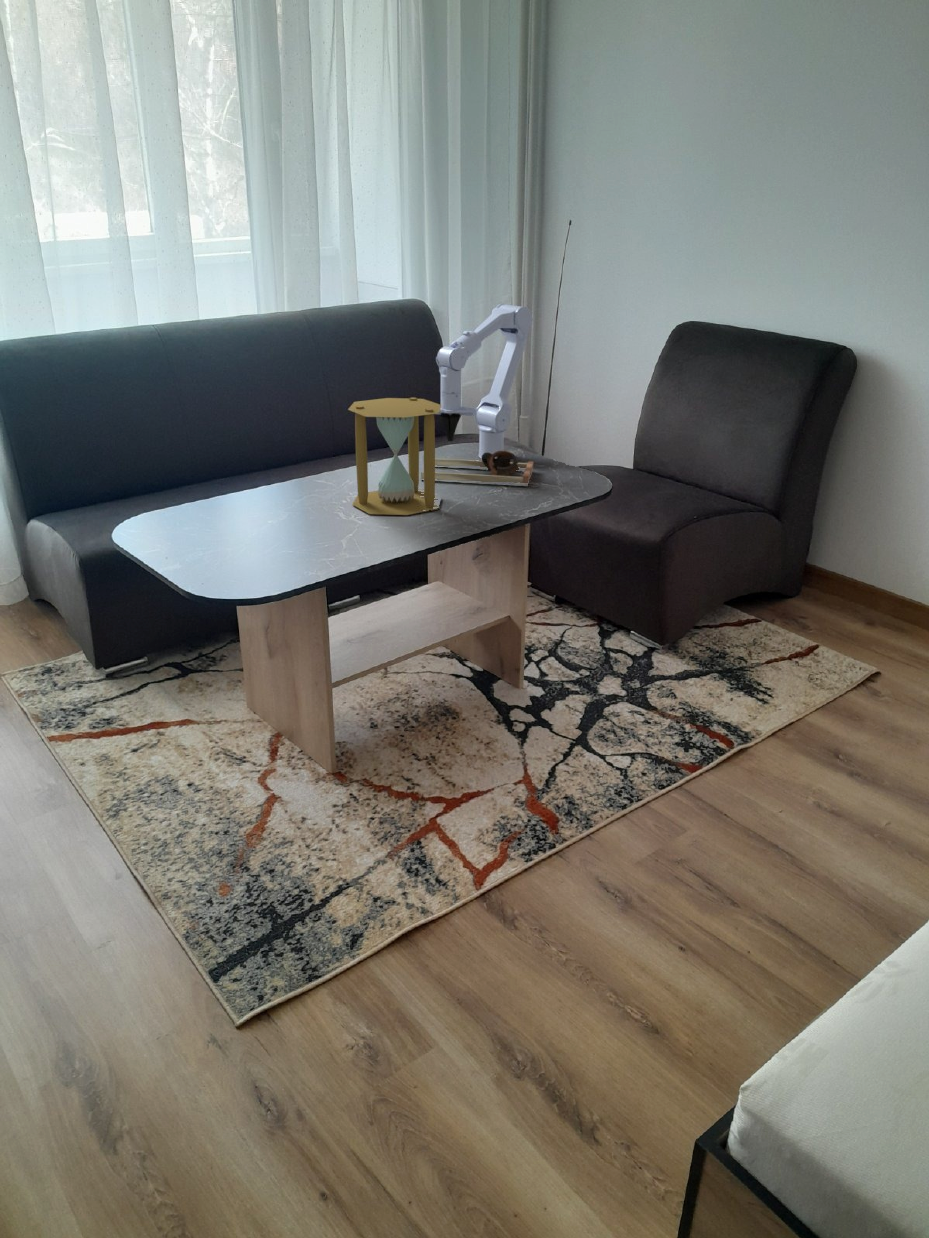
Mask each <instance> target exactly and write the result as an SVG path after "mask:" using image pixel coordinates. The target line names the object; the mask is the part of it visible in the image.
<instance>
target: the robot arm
mask: <svg viewBox="0 0 929 1238" xmlns="http://www.w3.org/2000/svg"><path fill="white" fill-rule="evenodd" d="M533 321H534V320H533V315H532V314H531V310H530V309H529V308H528V306H522V305H521V306H519V305H512V304H511V305H510V304H506V303H499V304H498V305H497V306H496V307H494V308H493V309H492V311H491V314H490V315H489V316H488V317H487V318H485V320H484V321H483V322H482V323H481V324H480V325H479V326H478V327H476V328H475V330H474V331H473V330H464V331H463V332H462V335H461V336H459V337H458V338H457V339H456V340H454V341H452V342H450V343H451V344H449V346H447V345H446V346H445V345H444V346H442V347H440V349H439V350H438V351H437V355H436V357H435V362H436V365H437V366H438V372H439V374H440V405H442V406H441V409H440V411H439V413H436V414H435V415H440V417H439V418H440V421H441V423H442V426H443V428H444V429H445V431H444V432H445V434H446V437H447V442H453V441H454V439H455V434H456V430H457V427H458V424H459V423H460V422H459V421H460V419H461V417H462V416H465V417H466V416H467V417H468V416H469V417H473V418H474V422H475V424H476V425H477V428H478V429H479V440H478V441H479V444H478V446H479V447H478V456H479V457H480V458H481V459H482V455H483V454H484V453H486V452H487V453H491V454H493V453H495V452H497V451H505V450H504V445H505V442H504V441H505V431H507V428H508V427H509V425H510V423H511V413H512V410H513V407H512V405H511V404H510V402H509V401H508V398H509V395H510V393H511V390H512V387H513V384H514V382H515V378H516V375H517V372H518V369H519V366H520V363H521V359H522V357H523V353H524V351H525V348H526V345H527V341H528V336H529V332H530V330H531V326H532V325H533V324H532V323H533ZM498 330H499V331H500V332H501V334H502V336H504V338H505V340H506V344H505V347H504V350H503V352H502V355H501V359H500V361H499V364H498V367H497V370H496V373H495V377H494V379H493V382H492V386H491V388H490V391H489V393H488V394H486V395H485V396H484V397H482V398H481V399H480V403H479V405H478V406H477V407H468V406H462V369H464V368H465V366H466V364H467V362H468V359H469V358H470V357H471V356H472V355H474V354H475V353H477V351H479V350H480V349H481V346H482V342H483V341H484V340H485V339H487V338H488V337H489V336H491V335H492V334H494V333H496V332H497V331H498ZM496 458H497V457H495V459H496Z"/></svg>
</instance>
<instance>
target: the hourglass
mask: <svg viewBox="0 0 929 1238" xmlns="http://www.w3.org/2000/svg"><path fill="white" fill-rule="evenodd" d="M441 406H442V405H441V403H440V404H439V403H437V402H434V401H431V400H428V399H425V398H417V397H409V398H403V397H402V398H399V397H385V398H377V399H376V398H375V399H368V400H360V401H359V400H357V401H353V403H352V404H351V405H350V407H349V408H347V411H350V412H352V413H355V415H354V429H355V431H354V433H355V434H354V436H355V462H356V464H355V465H356V466H355V467H356V484H357V485H356V486H357V496H356V497H355V499H354V501H353V502H352V506H354V507H356V508H358V509H359V510H361V511H363V512H365V513H367V514H368V515H390V516H392V515H393V516H395V515H396V516H398V515H399V516H409V515H415V514H419V513H425V512H430V511H429V510H431V511H436V510H437V509H433V507H438V506H437V505H434V503H435V502H434V500H438V499H434V498H435V495H436V491H435V489H436V482H435V472H436V468H435V458H436V435H435V434H436V432H435V430H436V429H435V428H436V425H435V415H437V414H436V413H439V411H440V409H441ZM419 416H424V420H423V471H424V481H423V486H424V487H423V488H424V489H423V490H424V492H421V491H418V490H422V489H421V488H420V489H419V483H420V439H419V438H420V433H419V431H420V428H419V426H420V424H419ZM366 418H375V419H376V425H377V428H378V430H379V432H380V434H381V435H382V437H383V438H384V440H385V441H386V443H387V445H388V446H389V448H390V450H391V451H392V452H393V454H394V455H393V457H392V459H391V460H390V462H389V464H388V466H387V467H386V469H385V470H384V473H383V474H382V476H381V478H380V480H379V481H378V489H377V490H374V491H369V476H368V475H369V474H368V473H369V472H368V471H369V468H368V466H369V465H368V446H367V445H368V442H367V423H366V421H367V420H366ZM406 440H407V447H408V448H407V454H408V455H407V457H408V458H407V459H408V471H407V469H406V468H405V466H404V464H403V462H402V461H401V459H400V458H399V456H398V454H399V452H400V451H401V448H402V447H403V445H404V443H405V441H406ZM421 493H424V494H421ZM420 496H424V497H420ZM423 510H426V511H423Z"/></svg>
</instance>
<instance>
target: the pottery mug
mask: <svg viewBox="0 0 929 1238" xmlns="http://www.w3.org/2000/svg"><path fill="white" fill-rule="evenodd" d="M495 457H497V458H496V459H495ZM511 460H513V461H511ZM482 462H483V463H484V465H485V466H486V467H487V468H488V470H487V472H488V471H490V470H491V471H490V472H491V473H490V475H497V476H511V474H515V473H516V472H515V471H516V470H519V468H518V465H517V463H520V462H519V461H518V460H517V456H516V455H515V454H514V453H513V452H510V451H508V450H504V451H497V452H495V453H493V454H491V453H487V452H486V453H484V454H483V455H482ZM510 462H513V463H512V464H510Z"/></svg>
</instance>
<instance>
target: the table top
mask: <svg viewBox="0 0 929 1238" xmlns="http://www.w3.org/2000/svg"><path fill="white" fill-rule="evenodd" d="M513 462H514V461H510V464H512V463H513ZM435 465H437V466H475V467H476V466H480V467H486V466H485V465H484V463H483V462H482V461H479V460H476V459H475V460H474V459H457V458H439V457H438V458H437V457H435ZM517 465H518V467H520V468H526V469H525V472H523V475H522V476H513V475H512V476H511V475H509V476H497V475H491V474H478V473H477V474H475V473H463V472H461V473H459V472H442V471H441V472H440V471H439V472H438V471H435V479H437V480H457V481H481V482H514V483H517V482H520V483H528V481H529V479H530V476H531V472H532V469H533V470H534V461H527V462H519V463H517ZM421 479H424V470H423V471H420V480H421Z"/></svg>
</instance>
